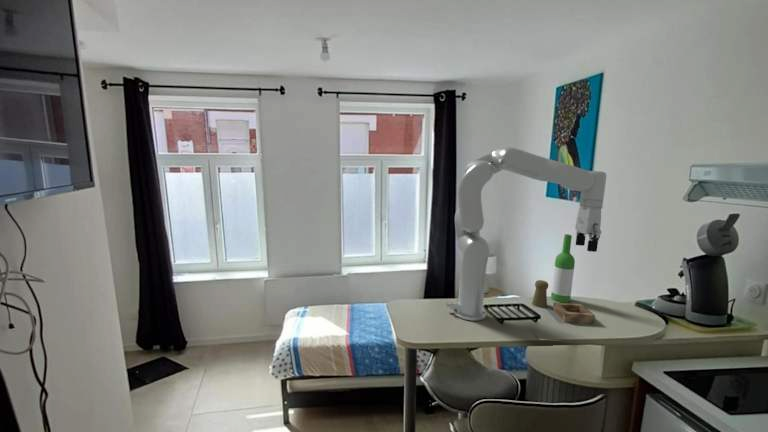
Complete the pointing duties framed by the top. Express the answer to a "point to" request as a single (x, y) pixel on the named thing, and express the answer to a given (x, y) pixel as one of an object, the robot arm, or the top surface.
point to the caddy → (574, 313)
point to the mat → (561, 319)
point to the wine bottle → (563, 273)
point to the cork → (540, 294)
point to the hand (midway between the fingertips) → (585, 248)
